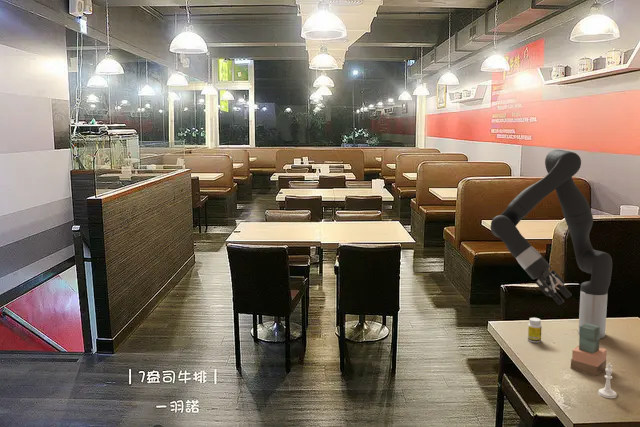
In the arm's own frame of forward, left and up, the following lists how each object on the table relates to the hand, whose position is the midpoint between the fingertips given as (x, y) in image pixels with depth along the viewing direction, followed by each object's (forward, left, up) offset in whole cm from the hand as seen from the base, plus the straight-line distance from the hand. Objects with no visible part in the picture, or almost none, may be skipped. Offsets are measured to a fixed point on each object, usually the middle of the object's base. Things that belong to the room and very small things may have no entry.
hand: (565, 300), depth 184 cm
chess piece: (+13, +20, -22) cm, 32 cm away
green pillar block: (-1, +8, -15) cm, 17 cm away
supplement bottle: (-10, -16, -22) cm, 29 cm away
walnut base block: (-1, +8, -22) cm, 24 cm away
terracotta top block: (-1, +8, -19) cm, 21 cm away
